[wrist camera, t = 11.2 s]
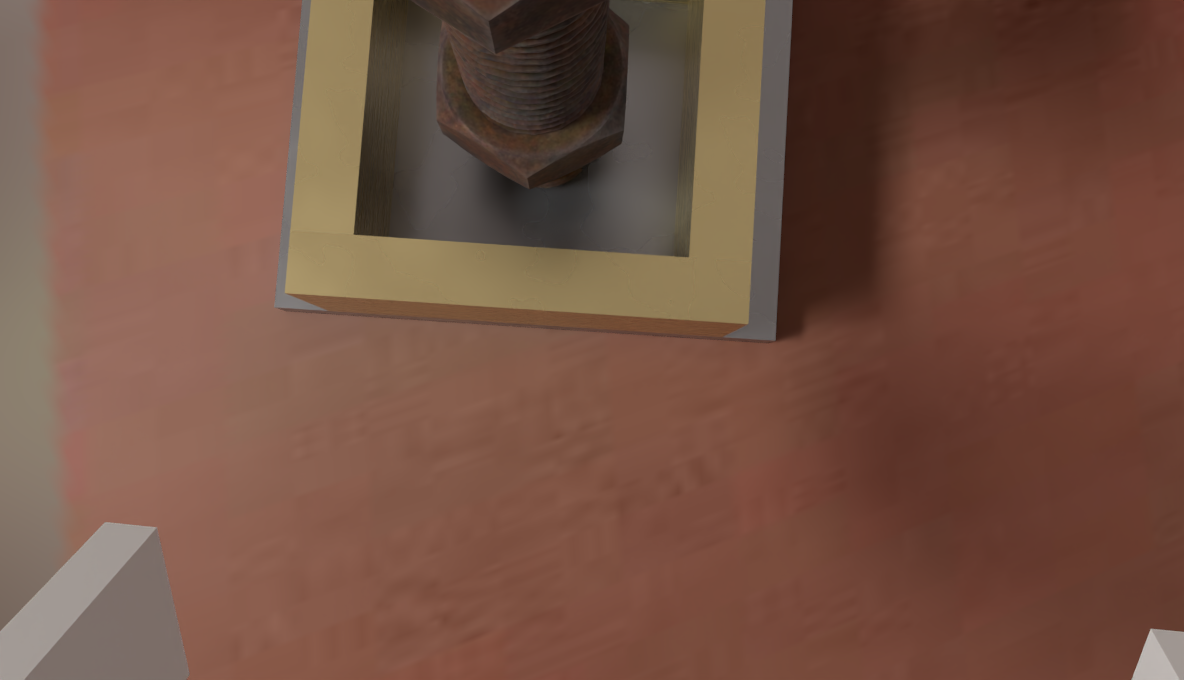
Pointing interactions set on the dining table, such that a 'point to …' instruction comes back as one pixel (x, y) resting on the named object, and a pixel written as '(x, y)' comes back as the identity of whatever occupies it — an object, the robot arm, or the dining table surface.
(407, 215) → the mount
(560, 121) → the bolt
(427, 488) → the dining table surface
